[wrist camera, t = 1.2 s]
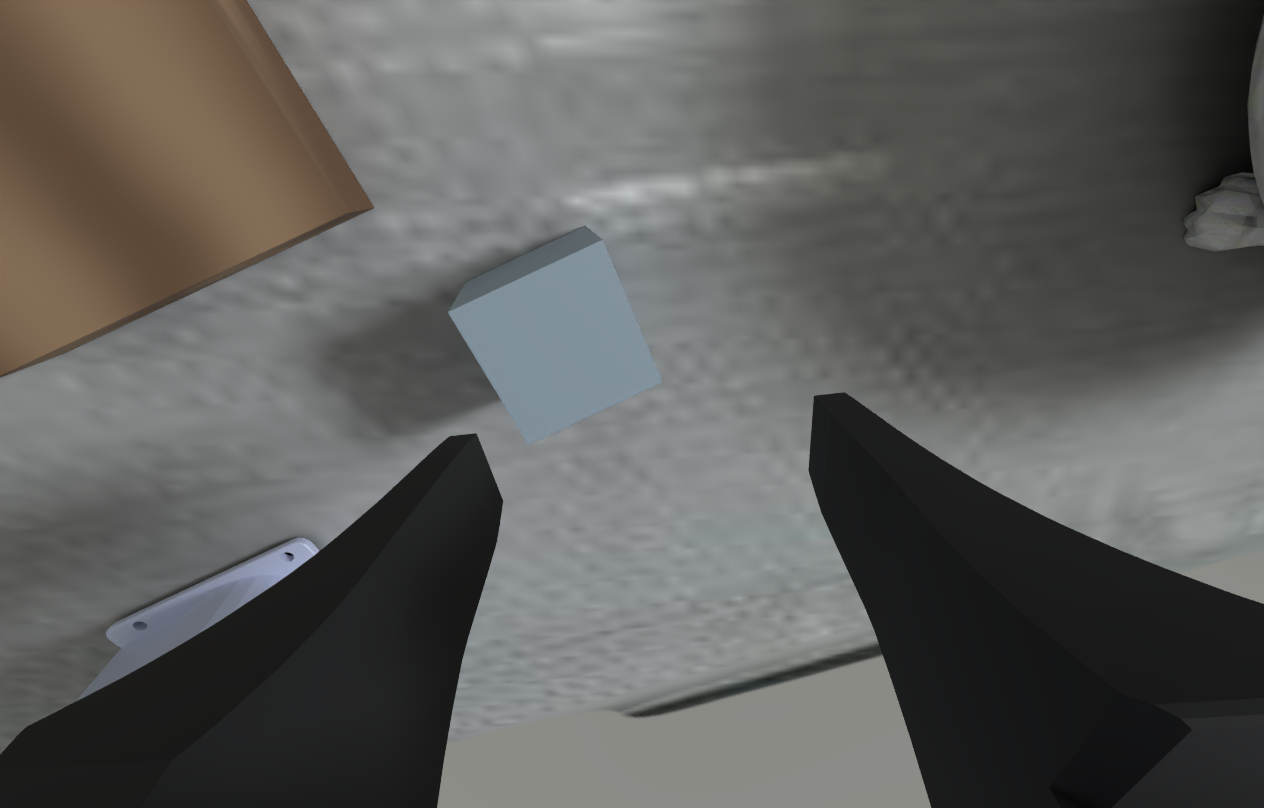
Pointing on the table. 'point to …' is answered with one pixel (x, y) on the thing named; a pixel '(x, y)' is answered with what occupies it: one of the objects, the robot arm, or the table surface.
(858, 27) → the table surface
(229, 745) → the robot arm
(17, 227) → the walnut base
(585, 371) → the slate cube
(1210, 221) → the decorative bowl
